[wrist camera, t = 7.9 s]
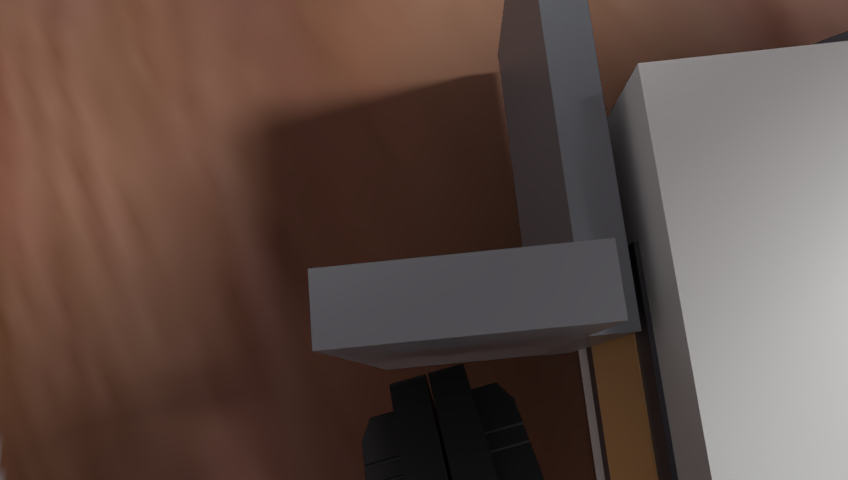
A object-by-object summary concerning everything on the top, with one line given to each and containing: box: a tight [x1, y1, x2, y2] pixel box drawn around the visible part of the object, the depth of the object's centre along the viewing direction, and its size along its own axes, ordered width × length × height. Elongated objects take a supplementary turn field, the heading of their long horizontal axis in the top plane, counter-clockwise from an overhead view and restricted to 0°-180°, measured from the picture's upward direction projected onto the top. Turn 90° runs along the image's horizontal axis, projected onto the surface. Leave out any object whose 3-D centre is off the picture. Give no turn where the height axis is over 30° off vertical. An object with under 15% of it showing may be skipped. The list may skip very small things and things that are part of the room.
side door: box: [308, 0, 642, 370], centre depth 16 cm, size 6×10×11 cm, turn 5°
